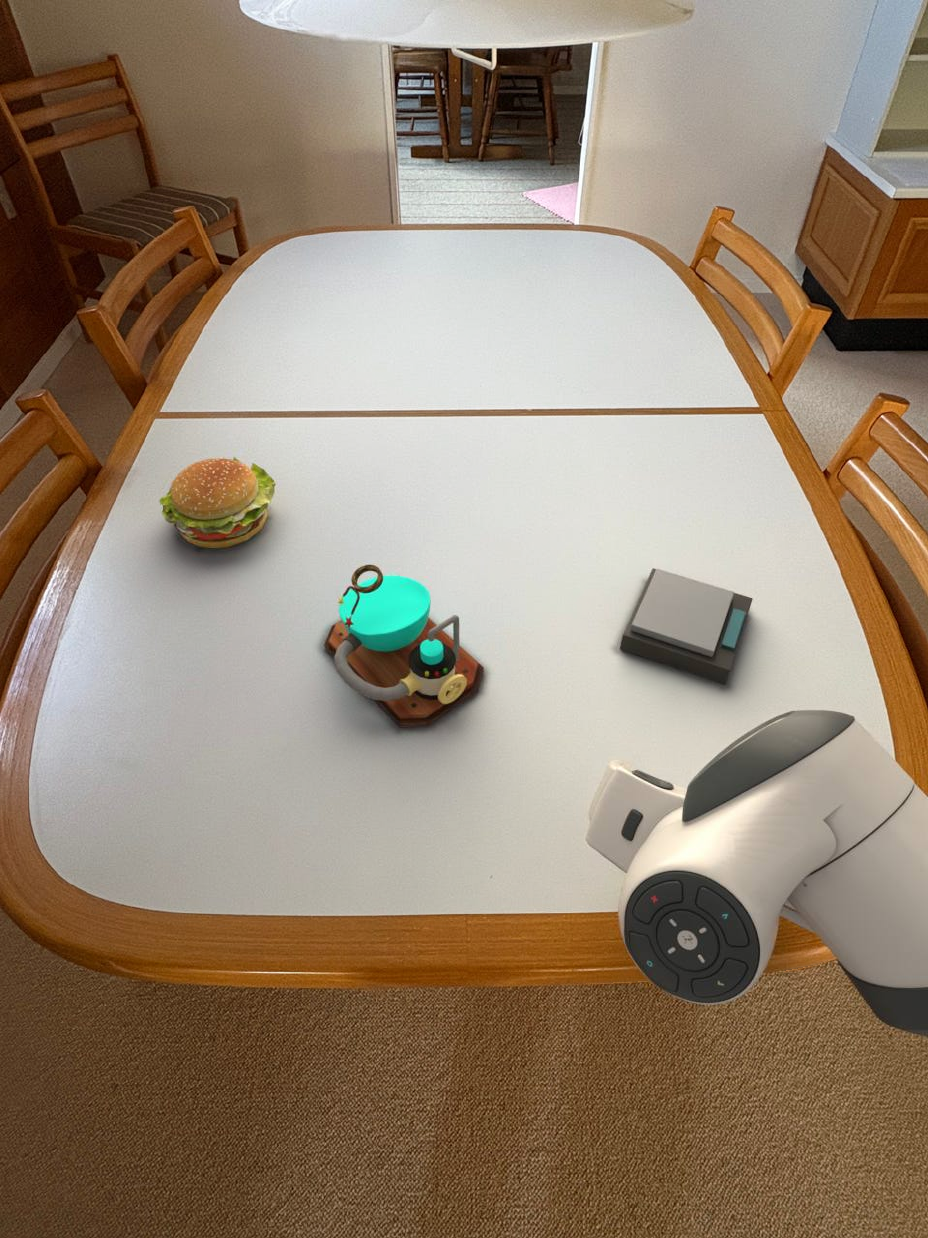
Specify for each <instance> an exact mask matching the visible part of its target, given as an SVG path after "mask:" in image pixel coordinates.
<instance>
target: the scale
mask: <svg viewBox="0 0 928 1238" xmlns="http://www.w3.org/2000/svg"><path fill="white" fill-rule="evenodd" d="M753 599H754V598H753V597H750V596H747V595H743V594H740V593H737V592H735V591H732V590H729V589H726V588H723V587H719V586H717V585H712V584H710V583H707V582H703V581H700V580H697V579H692V578H690V577H686V576H683V575H679V574H676V573H673V572H669V571H667V570H663V569H661V568H654V567H652V569H651V571H650V572H649V575H648V577H647V580H646V582H645V584H644V586H643V589H642V591H641V592H640V595H639V597H638V599H637V602H636V604H635V607H634V609H633V611H632V614H631V615H630V617H629V620H628V622H627V624H626V627H625V629H624V631H623V633H622V636H621V641H620V645H619V650H621V651H624V652H626V653H629V654H633V655H635V656H639V657H640V658H641V657H642V658H645V659H647V660H650V661H652V662H653V661H654V662H656V663H658V664H659V663H660V664H662V665H664V666H665V665H666V666H667V667H671V668H674V669H677V670H680V671H683V672H686V673H689V674H691V675H694V676H698V677H700V678H704V679H706V680H709V681H712V682H715V683H719V684H721V685H726V682H727V680H728V678H729V675H730V673H731V670H732V667H733V664H734V660H735V657H736V654H737V652H738V647H739V644H740V641H741V637H742V636H743V632H744V628H745V625H746V622H747V618H748V615H749V612H750V609H751V606H752V602H753Z"/></svg>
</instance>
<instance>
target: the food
mask: <svg viewBox="0 0 928 1238" xmlns="http://www.w3.org/2000/svg"><path fill="white" fill-rule="evenodd" d="M275 487H276V482H275V480H274V479H273V477H272V476H270V475H269V474H268V472H266V470H265V469H263V468H262V467H260V466H259V465H257V464H256V463H251V466H250V467H249V466H248V465H247V464H245V463H243V462H241V461H240V460H239V459H237V458H236V456H233V459H232V458H230V459H229V458H225V457H218V458H217V457H216V458H206V459H202V460H199V461H197V462H196V461H195V462H194V463H192V464H191V465H188V466H187V467H185V468H184V469H183V470H181V472H179V473H178V474H177V476H175V478H174V479H173V480H172V482H171V485H170V487H169V491H168V492H167V493H166V494H165V495H164V496H162V497H160V499H159V500H158V501H159V504H160V505H161V506H162V511H161V514H162V516H163V517H164V521H165V522H166V523H168V524H169V525H171V524H172V525H173V526H174V528H175V529H176V530H177V531H178V532H179V533H180V536H182V537H183V538H184V539H185V540H186V541H187V542H188V543H190V544H193V545H195V546H197V547H200V548H208V549H209V548H210V549H221V548H229V547H232V546H235V545H238V544H241V543H244V542H246V541H248V540H249V539H252V537H253V536H254V535H256V534H257V533H258V532H260V531H261V530H262V529H263V527H264V525H265V522H266V520H267V518H268V507H269V503H271V501H272V499H273V497H274V495H275Z"/></svg>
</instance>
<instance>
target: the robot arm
mask: <svg viewBox="0 0 928 1238" xmlns="http://www.w3.org/2000/svg"><path fill="white" fill-rule="evenodd" d="M588 818H589V821H590V822H589V826H588V829H587V833H586V836H585V841H586V844H587V845H588V846H589V847H590V848H591V849H593V850H594V851H596V852H597V853H599V854H600V855H601V856H602V857H604V858H605V859H607V860H608V861H609V862H611V863H612V864H613V865H615V866H616V867H617V868H618V869H620V870H621V872H624V873H625V877H624V879H623V883H622V886H621V889H620V893H619V898H618V905H617V906H618V907H617V914H618V915H617V916H618V917H617V919H618V925H619V930H620V935H621V938H622V941H623V943H624V947H625V949H626V951H627V953H628V955H629V957H630V959H631V960H632V961H633V963H634V964H635V966H636V967H637V969H639V971H640V972H641V973H642V974H643V975H644V977H646V978H647V979H648V980H649V981H650V982H651V983H652V984H653V985H654V986H655V987H657V988H658V989H659V990H662V992H665V993H666V994H668V995H670V996H672V997H675V998H676V999H678V1000H679V999H680V1000H682V1001H684V1002H688V1003H692V1004H696V1005H702V1006H704V1005H705V1006H717V1005H723V1004H726V1003H730V1002H733V1001H735V1000H737V999H739V998H741V997H742V996H744V995H745V994H746V993H747V992H749V991H750V990H751V989H752V988H753V987H754V986H755V984H756V983H758V980H759V979H760V978H761V976H762V975H763V973H764V971H765V970H766V968H767V966H768V964H769V961H770V959H771V956H772V954H773V951H774V949H775V945H776V941H777V936H778V932H779V926H780V925H779V924H780V917H782V918H783V919H785V920H788V921H789V922H792V923H793V924H796V925H798V926H799V927H801V928H802V929H805V930H807V931H809V932H811V933H813V934H815V935H816V936H817V937H818V938H819V939H820V941H821V942H822V943H823V944H824V945H825V947H826V948H827V949H828V950H829V951H830V952H831V954H832V955H833V956H834V957H835V958H836V961H837V963H838V965H839V967H840V968H841V970H842V971H843V972H844V974H845V975H846V976H847V978H848V980H849V981H850V982H851V984H852V985H853V986H854V988H855V989H856V990H857V992H858V993H859V995H860V996H861V997H862V999H863V1001H865V1003H866V1004H867V1006H868V1007H869V1009H870V1010H871V1012H872V1013H873V1014H874V1015H875V1016H876V1018H877V1019H878V1020H879V1021H881V1022H882V1023H883V1024H884V1025H887V1026H889V1027H891V1028H895V1029H898V1030H900V1031H904V1032H905V1033H910V1034H913V1035H917V1036H921V1037H925V1038H928V796H927V795H926V793H925V792H924V791H923V790H922V789H921V788H920V787H919V786H918V785H917V784H916V783H915V781H914V780H913V778H912V776H911V775H910V774H909V773H908V772H906V771H905V770H904V769H903V768H902V766H901V765H900V764H899V763H898V762H897V760H896V759H894V757H893V756H892V755H891V753H889V752H888V751H887V749H885V748H884V747H883V746H882V745H881V744H880V743H879V741H877V739H875V738H874V736H873V735H872V734H871V733H870V732H869V731H868V730H867V729H866V728H865V727H864V726H863V725H862V724H861V723H860V722H859V721H858V720H857V719H855V716H854V715H851V714H848V713H844V712H840V711H835V710H825V709H824V710H823V709H821V710H820V709H805V710H802V709H801V710H791V711H787V712H784V713H781V714H780V715H777V716H775V717H772V718H770V719H768V720H766V721H764V722H763V723H760V724H759V725H757V726H756V727H754V728H752V729H751V730H749V731H748V732H746V733H744V734H743V735H741V736H739V737H738V738H737V739H735V740H734V741H733V742H732V743H730V744H729V745H728V746H727V747H725V748H724V749H722V750H721V751H720V752H719V753H718V754H717V755H716V756H714V757H713V758H712V759H711V760H710V761H709V762H708V763H707V764H705V766H703V767H702V769H700V771H698V773H697V774H696V775H695V776H694V777H693V778H692V779H691V781H690V782H689V783H688V785H687V787H684V786H679V785H675V784H673V783H671V782H669V781H666V780H663V779H661V778H658V777H656V776H653V775H651V774H649V773H646V772H644V771H642V770H639V769H638V768H635V767H633V766H632V765H630V764H628V763H626V762H623V761H621V760H617V759H612V760H611V761H609V763H608V765H607V766H606V769H605V771H604V773H603V775H602V777H601V780H600V782H599V783H598V786H597V789H596V791H595V794H594V796H593V799H592V801H591V803H590V806H589V811H588Z"/></svg>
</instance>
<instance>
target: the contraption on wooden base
mask: <svg viewBox="0 0 928 1238" xmlns="http://www.w3.org/2000/svg"><path fill="white" fill-rule="evenodd" d="M367 572H375V573H376V574H377V576H375V577H372V578H369V579H366V580H364V581H362V582H359V583H358V580H359V578H360V577H361V576H362V575H363V574H364V573H367ZM337 603H338V605H339V606H338V614H339V617H340V621H338V622H336V623H334V624H333V625H331V627H330V629H329V632H328V634H327V636H326V638H325V640H324V643H323V647H324V649H325V650H326V651H327V653H328V654H330V655H331V656H332V658H333V660H334V661H333V662H334V664H335V670H336V672H337V674H338V675H339V676H340V678H341V679H342V680H343V682H344V683H345V684H346V685H347V686H349V687H350V688H351V689H353V690H354V691H355V692H357V694H360V695H362V696H364V697H366V698H369V699H371V700H373V701H374V702H375V703H376V704H377V705H378V706H379V707H380V708H381V709H382V710H383V711H384V712H385V713H386V714H387V715H388V716H389V717H390V718H391V720H393V721H394V723H396V725H397V726H398V727H399V728H418V727H430V726H431V725H432V724H433V723H435V722H436V721H438V720H439V719H441V718H442V717H444V716H446V715H447V714H448V713H450V712H451V711H453V710H454V709H455V708H457V707H458V706H460V705H461V704H463V703H464V702H466V701H468V700H469V699H470V698H471V697H473V696H474V695H476V694H477V693H479V691H480V687H481V683H482V679H483V675H484V671H485V670H484V669H485V668H484V666H483V665H482V664H481V663H479V662H478V661H477V660H476V659H475V658H474V657H473V656H472V655H471V654H469V652H468V651H466V650H465V649H464V648H463V647H462V646H461V645H460V617H459V615H457V614H454V615H451V616H450V617H449V618H446V619H445V620H444V621H442V622H440V623H439V624H436V623H435V622H434V621H433V619H431V618H430V617H429V616H430V611H431V594H430V591H429V590H428V589H427V588H426V586H425V585H424V584H422V583H421V582H419V581H417V580H415V579H413V578H410V577H408V576H402V575H397V574H387V575H383V572H382V570H381V568H380V567H379V566H377V565H375V564H364V565H361V566H360V567H358V568H357V569H356V570H354V571H353V574H352V576H351V585H348V586H347V588H346V590H345V591H344V592H343V594H342V598H341V597H338V602H337ZM451 625H452V636H453V638H452V637H451V636H449V635H448V633H446V632H445V631H444V629H445V628H447V627H449V626H451Z"/></svg>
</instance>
